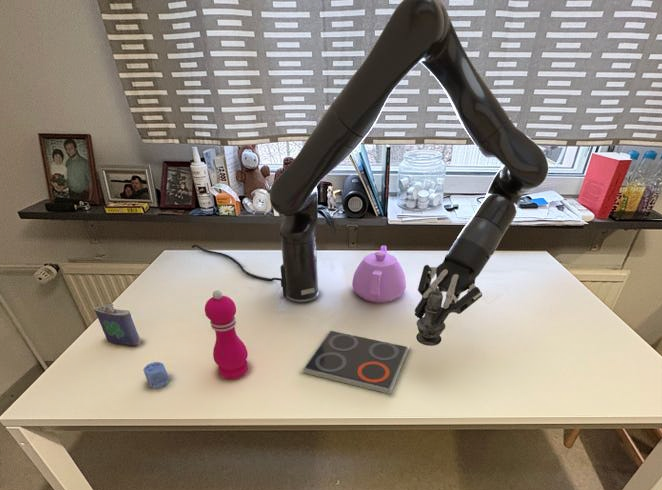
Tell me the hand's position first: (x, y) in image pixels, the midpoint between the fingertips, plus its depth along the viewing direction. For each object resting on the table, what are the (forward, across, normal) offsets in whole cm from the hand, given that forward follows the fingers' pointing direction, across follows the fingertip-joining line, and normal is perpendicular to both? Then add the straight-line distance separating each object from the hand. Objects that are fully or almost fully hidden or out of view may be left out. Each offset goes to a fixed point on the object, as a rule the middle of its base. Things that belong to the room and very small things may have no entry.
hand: (425, 321), depth 81 cm
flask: (+42, -55, -21) cm, 73 cm away
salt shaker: (+2, 0, +5) cm, 6 cm away
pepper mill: (+31, -28, -10) cm, 44 cm away
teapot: (-4, -33, +25) cm, 42 cm away
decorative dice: (+42, -35, -20) cm, 58 cm away
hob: (+15, -12, +6) cm, 20 cm away
